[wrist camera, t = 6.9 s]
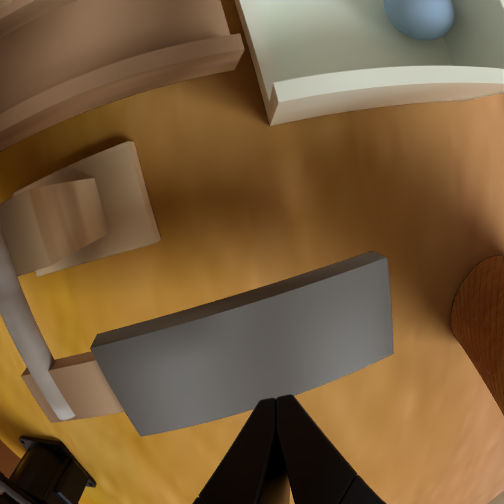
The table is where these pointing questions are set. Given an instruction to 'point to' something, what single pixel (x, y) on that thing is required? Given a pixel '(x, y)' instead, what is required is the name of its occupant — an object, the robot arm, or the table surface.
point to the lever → (194, 319)
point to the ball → (421, 17)
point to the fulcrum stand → (79, 212)
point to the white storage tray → (367, 56)
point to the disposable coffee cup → (483, 322)
